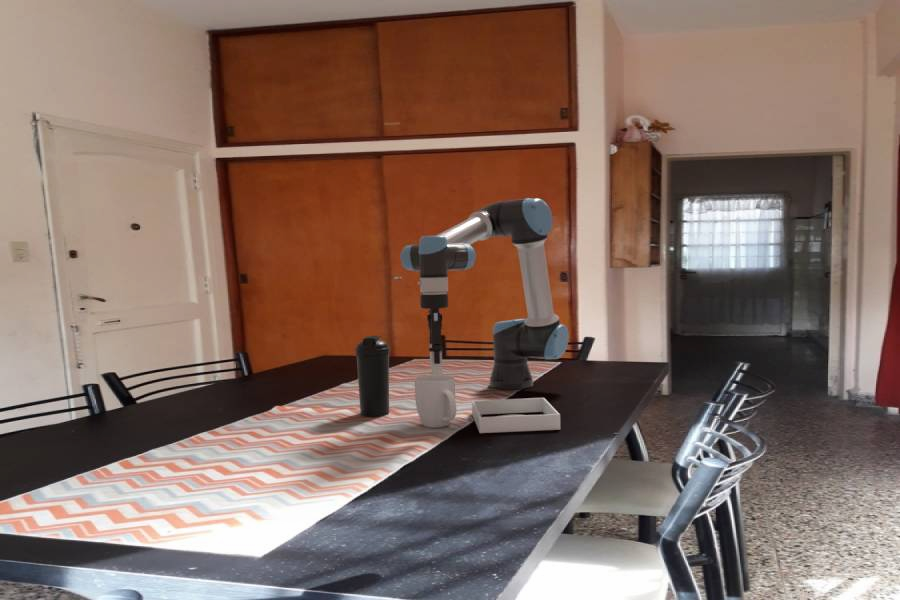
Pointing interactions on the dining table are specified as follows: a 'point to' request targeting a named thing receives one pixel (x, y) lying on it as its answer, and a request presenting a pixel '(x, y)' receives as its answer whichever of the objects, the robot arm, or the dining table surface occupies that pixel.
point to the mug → (435, 400)
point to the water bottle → (373, 376)
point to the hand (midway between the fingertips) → (436, 371)
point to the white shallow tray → (515, 421)
